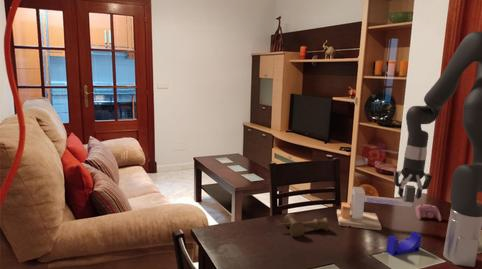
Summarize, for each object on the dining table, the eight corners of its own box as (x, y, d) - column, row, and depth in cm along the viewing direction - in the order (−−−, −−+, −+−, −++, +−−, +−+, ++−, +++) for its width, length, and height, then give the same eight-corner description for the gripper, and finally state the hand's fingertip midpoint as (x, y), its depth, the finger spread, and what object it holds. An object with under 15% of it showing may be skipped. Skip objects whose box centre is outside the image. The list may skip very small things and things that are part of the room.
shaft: (412, 207, 139) (415, 188, 137) (365, 202, 142) (368, 183, 140) (410, 204, 142) (413, 185, 140) (364, 199, 145) (366, 181, 143)
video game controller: (437, 221, 152) (436, 205, 153) (442, 221, 147) (441, 204, 149) (414, 220, 152) (413, 203, 154) (418, 219, 148) (417, 202, 150)
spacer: (349, 218, 143) (350, 207, 142) (341, 218, 144) (342, 206, 143) (347, 213, 148) (349, 202, 147) (340, 213, 148) (341, 202, 147)
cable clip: (409, 245, 127) (411, 229, 126) (419, 251, 123) (421, 235, 122) (382, 249, 123) (385, 234, 122) (392, 256, 119) (394, 240, 118)
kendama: (331, 237, 132) (280, 237, 128) (321, 226, 141) (273, 226, 137) (333, 222, 131) (282, 222, 127) (323, 212, 140) (275, 212, 136)
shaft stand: (381, 230, 138) (385, 198, 135) (339, 225, 140) (342, 193, 138) (374, 216, 150) (378, 186, 147) (336, 212, 153) (339, 183, 150)
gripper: (398, 157, 134) (392, 198, 137) (438, 160, 131) (431, 203, 135) (393, 152, 141) (388, 192, 144) (431, 155, 139) (425, 196, 142)
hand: (409, 197), depth 140 cm, fingers open, 5 cm apart
